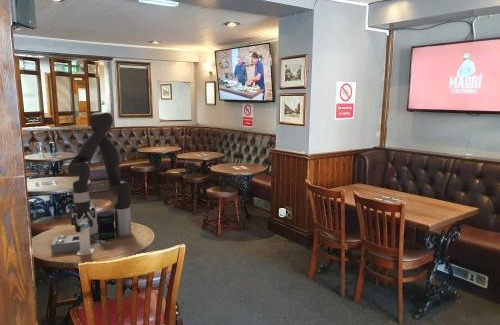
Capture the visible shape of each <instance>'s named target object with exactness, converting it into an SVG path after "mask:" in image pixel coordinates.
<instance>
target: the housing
mask: <svg viewBox="0 0 500 325" xmlns="http://www.w3.org/2000/svg"><path fill="white" fill-rule="evenodd" d="M57 240H60V239H59V236H54V238H53V240H52V242H51V244H50V248H51V249H50V250H51V254H59V253H68V252H76V251H77V252H78V250H80V243H79V234H70V235H65V239H63V243H59V244H57ZM90 243H92V242H91V240H90Z"/></svg>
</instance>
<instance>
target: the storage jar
mask: <svg viewBox="0 0 500 325" xmlns="http://www.w3.org/2000/svg"><path fill="white" fill-rule="evenodd" d="M96 215H97V226H98V230H97V232H98V233H97V239H98V240H99V241H103V242H104V241H111V240H113V239H115V238H116V235H115V219H114V211H112V210H111V211H109V210H107V211H105V210H104V211H100V212H97V214H96Z"/></svg>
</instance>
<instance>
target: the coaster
mask: <svg viewBox="0 0 500 325" xmlns="http://www.w3.org/2000/svg"><path fill="white" fill-rule="evenodd" d="M94 252H95V248H91V251H90V252H88V253H80V250H78V251H77V252H76V256H77V255H78V256H84V255H85V254H86V255H93V254H94Z"/></svg>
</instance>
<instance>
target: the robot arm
mask: <svg viewBox="0 0 500 325" xmlns="http://www.w3.org/2000/svg"><path fill="white" fill-rule="evenodd" d="M113 123H114V119H113V116H112V114H111V113H109V112H107V111H103V112H94V113H93V112H92V113H91V114H90V115H89V124H90V127H91V128H90V129H91V130H92V132H93V133H92V134H91V135H89V137H88V138H87V139H86V140H85V141H84V142H83V143H82V145H81V147H80V149H79V151H78V153H77V155H75V156H74V157H73V158H72V159H71V161H70V162H69V163H68V165H67V172H68V174H69V175H70V176H73V177H78V179H77V180H74V181H73V182H72V189H73V190H72V191H73V203H74V204H73V205H74V211H75V213H70V225H71V226H74V228H75V229H74V231H75V232H76V233H79V232H80V222H82V220H83V219H85V218H88V219H89V220H88V223H89V227H93V218H95V217H96V215H95V208H96V207H95V208H94V207H90V203H91V198H90V193H89V184H88V183H89V178H90V173H91V169H90V166H89V164H88V163H87V162H90V161H92V159H93V157H94V154H95V152H96V150H97V148H99V151H100V156H101V160H102V162H103V165H104V168H105V172H106V175H107V179H108V185H109V190H110V192H111V193H110V194H112V195H113V196H115V197H117V200H116V202H114V203H113V212H114V220H115V222H114V227H115V237H116V238H125V237H130V236H132V221H131V220H132V218H131V202H132V188H131V187H132V186H131V184H130V183H129V182H127V181H123V180H122V179H121V176H120V173H119V168H120V164H121V159H120V155H119V152H118V148H117V146H116V145H115V144H114V142H113V141H111V139H110V138H109V136H108V135H107V133H108V131H110V129H111V127H112V125H113Z"/></svg>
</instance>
